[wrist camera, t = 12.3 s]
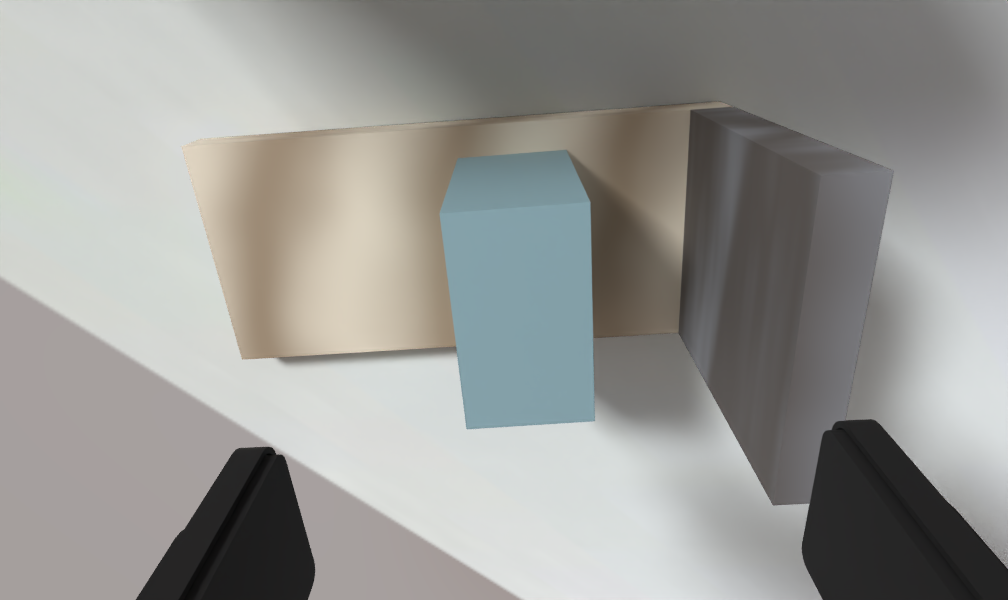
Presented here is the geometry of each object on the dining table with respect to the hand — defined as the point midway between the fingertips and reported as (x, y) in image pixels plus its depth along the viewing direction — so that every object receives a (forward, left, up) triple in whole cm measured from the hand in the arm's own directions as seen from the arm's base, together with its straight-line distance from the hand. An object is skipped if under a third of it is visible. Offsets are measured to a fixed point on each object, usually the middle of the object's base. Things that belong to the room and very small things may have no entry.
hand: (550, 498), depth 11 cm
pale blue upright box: (0, 0, -14) cm, 14 cm away
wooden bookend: (+2, 0, -16) cm, 16 cm away
